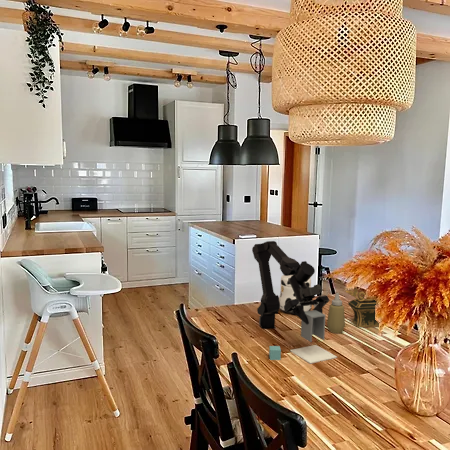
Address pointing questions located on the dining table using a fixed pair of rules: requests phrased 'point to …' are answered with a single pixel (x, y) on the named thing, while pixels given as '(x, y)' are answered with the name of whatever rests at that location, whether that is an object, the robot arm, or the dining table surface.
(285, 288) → the cream spotted cookie jar
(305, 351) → the cream square tile
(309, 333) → the charcoal hood
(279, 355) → the teal cube
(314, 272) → the robot arm
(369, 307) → the decorative box
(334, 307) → the squeeze bottle
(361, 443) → the dining table surface
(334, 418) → the dining table surface
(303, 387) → the dining table surface
